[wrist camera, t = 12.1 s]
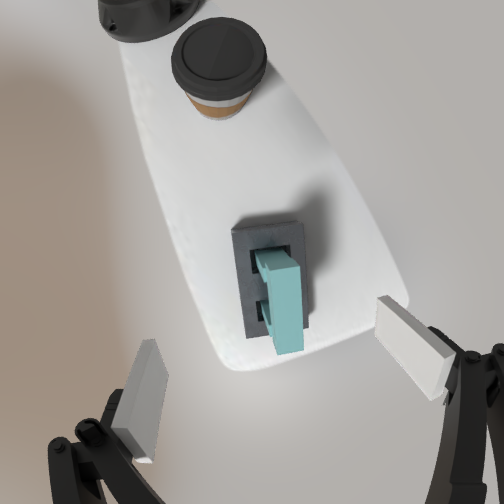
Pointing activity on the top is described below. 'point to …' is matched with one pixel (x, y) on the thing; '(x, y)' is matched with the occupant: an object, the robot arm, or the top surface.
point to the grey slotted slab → (251, 278)
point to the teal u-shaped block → (282, 299)
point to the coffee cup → (219, 65)
